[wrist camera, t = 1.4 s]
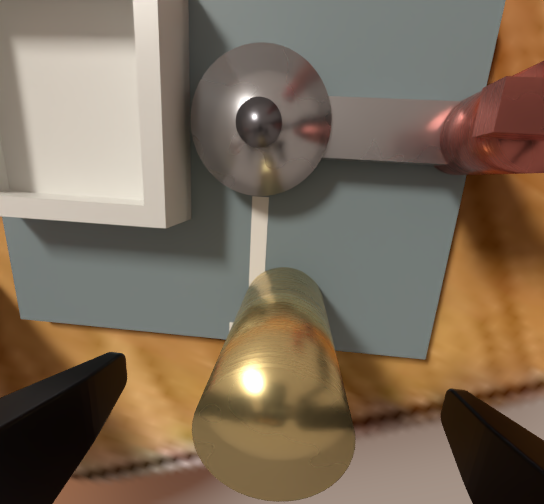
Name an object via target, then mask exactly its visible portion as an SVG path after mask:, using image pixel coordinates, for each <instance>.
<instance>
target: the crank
mask: <svg viewBox="0 0 544 504" xmlns="http://www.w3.org/2000/svg"><path fill="white" fill-rule="evenodd" d="M191 132H192V137H193V141H194V145H195V148H196V150H197V153H198V155H199V157H200V159H201V161H202V162H203V164H204V165H205V167H206V168H207V169H208V171H209V172H210V173H211V174H212V175H213V176H214V177H215V178H216V179H217V180H218V181H220V182H221V183H222V184H223V185H225V186H227V187H229V188H230V189H232V190H235V191H237V192H239V193H243V194H247V195H253V196H269V195H275V194H278V193H282V192H285V191H287V190H289V189H291V188H293V187H295V186H296V185H298V184H299V183H301V182H302V181H303V180H304V179H306V178H307V177H308V176H309V175H310V174H311V173H312V172H313V170H314V169H315V168H316V166H317V165H318V163H319V162H320V160H321V159H325V160H343V161H361V162H380V163H398V164H416V165H433V166H434V167H435V168H437V169H438V170H440V171H441V172H443V173H446V174H449V175H482V174H519V173H544V61H542V62H540V63H538V64H536V65H534V66H532V67H530V68H528V69H526V70H524V71H522V72H519V73H517V74H515V75H513V76H506V77H504V78H502V79H500V80H498V81H496V82H494V83H492V84H490V85H488V86H486V87H484V88H483V89H482V91H480V92H478V93H476V94H474V95H472V96H470V97H468V98H465V99H463V100H461V101H441V100H416V99H391V98H365V97H340V96H328V93H327V90H326V87H325V85H324V83H323V81H322V79H321V77H320V76H319V74H318V73H317V71H316V70H315V69H314V68H313V66H312V65H311V64H310V63H309V62H308V61H307V60H306V59H305V58H303V57H302V56H301V55H300V54H298V53H296V52H295V51H293V50H291V49H289V48H287V47H284V46H282V45H278V44H274V43H266V42H258V43H250V44H245V45H241V46H239V47H236V48H234V49H232V50H230V51H228V52H226V53H225V54H223V55H222V56H221V57H219V58H218V59H217V60H216V61H215V62H214V63H213V64H212V65H211V66H210V67H209V68H208V70H207V71H206V72H205V74H204V75H203V77H202V79H201V80H200V82H199V84H198V87H197V89H196V91H195V94H194V98H193V102H192V108H191Z"/></svg>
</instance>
